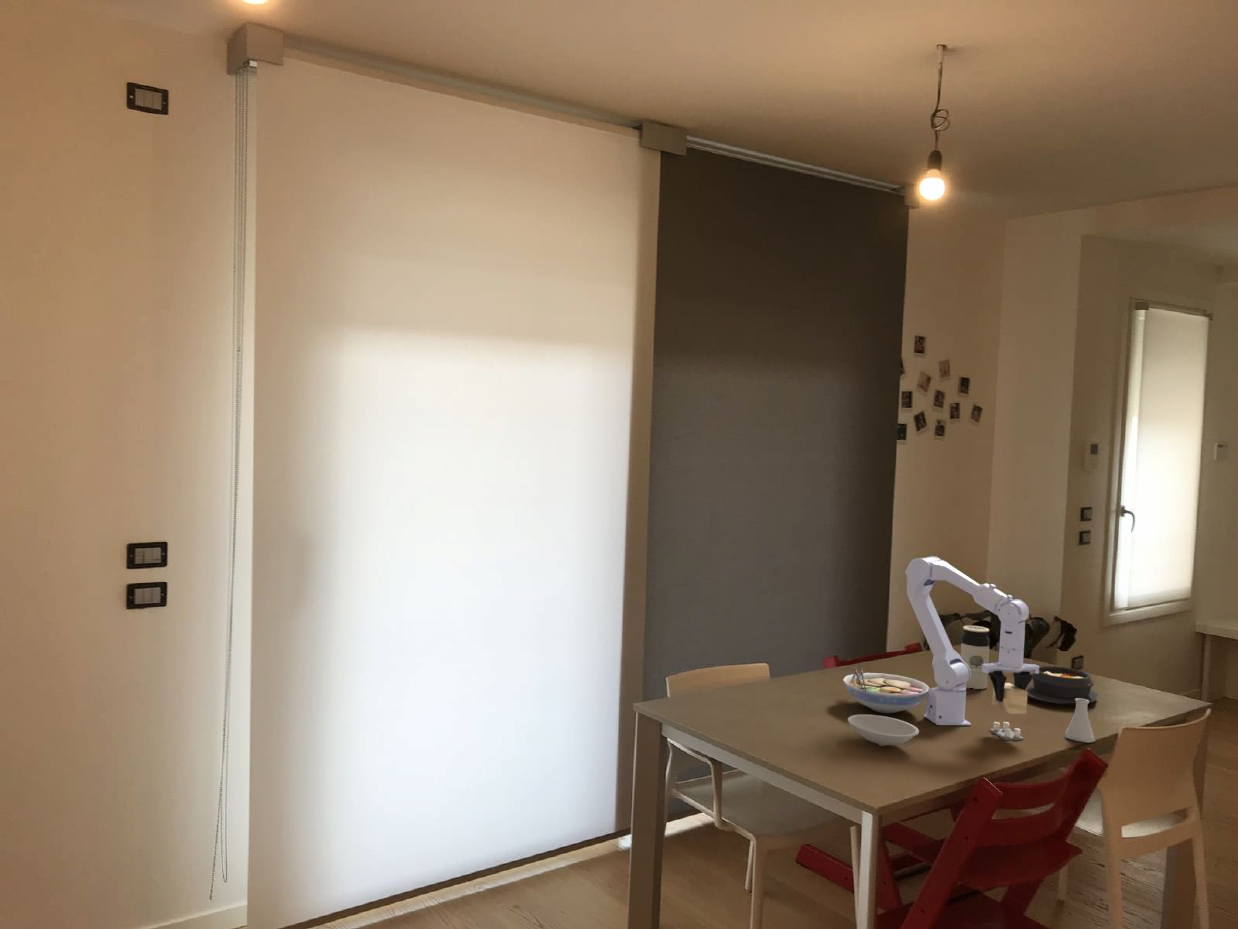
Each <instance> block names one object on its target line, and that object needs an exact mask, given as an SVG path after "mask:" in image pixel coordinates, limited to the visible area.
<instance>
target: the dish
mask: <svg viewBox="0 0 1238 929" xmlns="http://www.w3.org/2000/svg"><path fill="white" fill-rule="evenodd" d="M847 722H848V723H849V725H851V726H852V727H853V729H854V730H855V732H856V733H858V734H859V735H860V736H861V737H862V738H863V739H864V740H866V741H869V742H872V743H875V744H877V745H878V746H880V747H885V746H897V745H901V744H904V743H907V742H909V741H910V740H911V739H913V737H915V736H918V735H919V733H920V730H919V729H918V727H917V726H915V725H913V724H911V723H909V722H907V721H904V720H901V719H899V718H894V717H889V716H883V715H878V714H877V715H876V714H853V715H851V716H849V717H848V718H847Z"/></svg>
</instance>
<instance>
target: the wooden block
mask: <svg viewBox="0 0 1238 929" xmlns="http://www.w3.org/2000/svg"><path fill="white" fill-rule="evenodd" d="M1026 691H1027V690H1025V691H1024V690H1022V689H1020V688H1018V687H1016V686H1015V685H1014V684H1012V683H1010V682H1005V686H1004V697H1003V702H1000V701H998V700H996V695H995V690H994V687H993V686H992V698H991V699H992V700H991V704H992V705H994V706H995V707H997V708H998V709H1000V710H1002V711H1004V712H1005V713H1008V714H1010V715H1026V714H1027V707H1028V696H1027V693H1028V692H1026Z"/></svg>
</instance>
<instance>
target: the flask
mask: <svg viewBox="0 0 1238 929" xmlns="http://www.w3.org/2000/svg"><path fill="white" fill-rule="evenodd" d="M1075 701H1076V705H1075V710H1074V714H1073V716H1072V718H1071V721H1070V722H1069V725H1068V727H1067V728H1066V730H1065V732H1064V737H1065V738H1066V739H1069V740H1072V741H1075V742H1081V743H1088V744H1089V743H1094V742H1096V739H1095V736H1094V732H1093V729H1092V725H1091V721H1090V718H1089V712H1088V704H1090V703H1089V700H1085V699H1080V698H1077V699H1075Z"/></svg>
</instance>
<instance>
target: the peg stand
mask: <svg viewBox="0 0 1238 929" xmlns="http://www.w3.org/2000/svg"><path fill="white" fill-rule="evenodd" d="M1000 727H1001V723H1000V722H997V721H994V722H993V728H989V731H990V732H991V733H993V734H994V733H995V734H994V735H996V736H998V737H999V736H1000V738H1001V739H1003V740H1004V739H1005V740H1004V741H1024V739H1025V738H1024V737H1023V736H1022V735H1021V729H1020V728H1015V727H1014V729H1013V730H1014V731H1012V729H1011V728H1010V722H1007V721H1003V726H1002V728H1000ZM1012 739H1013V740H1012ZM1018 739H1019V740H1018Z"/></svg>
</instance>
